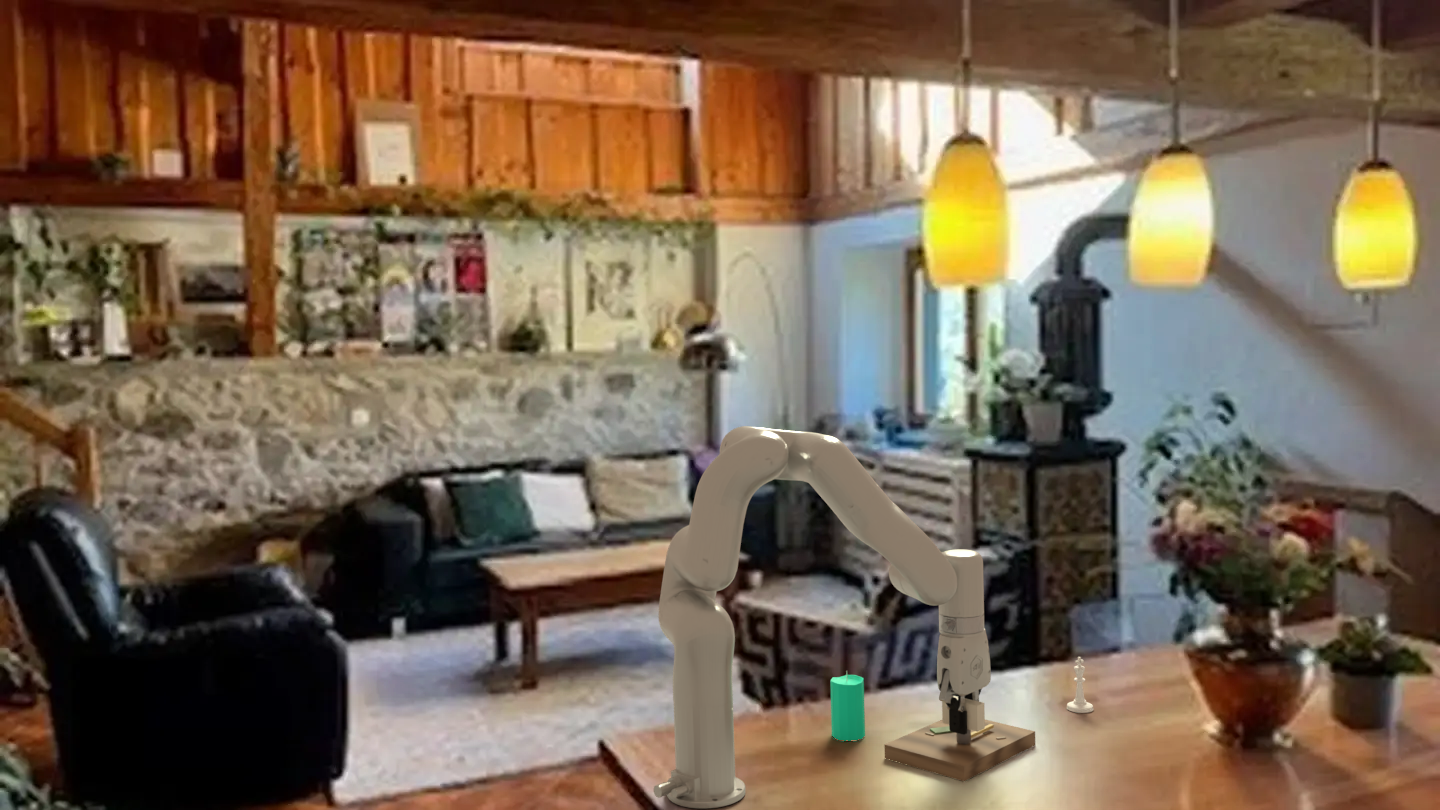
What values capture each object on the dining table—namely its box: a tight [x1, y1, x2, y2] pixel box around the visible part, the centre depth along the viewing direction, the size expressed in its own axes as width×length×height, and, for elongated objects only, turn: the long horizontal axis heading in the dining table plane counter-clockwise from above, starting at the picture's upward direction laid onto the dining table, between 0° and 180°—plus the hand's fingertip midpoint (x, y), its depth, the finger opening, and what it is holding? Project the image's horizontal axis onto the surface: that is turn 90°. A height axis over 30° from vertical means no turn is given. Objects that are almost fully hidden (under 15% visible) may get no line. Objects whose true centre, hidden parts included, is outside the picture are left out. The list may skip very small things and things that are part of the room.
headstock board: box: [883, 719, 1036, 782], centre depth 210 cm, size 22×16×3 cm
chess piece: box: [1066, 656, 1094, 714], centre depth 231 cm, size 5×5×10 cm
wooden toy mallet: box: [941, 696, 994, 744], centre depth 210 cm, size 10×7×7 cm
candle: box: [829, 670, 866, 742], centre depth 220 cm, size 6×6×12 cm
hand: (963, 729), depth 207 cm, fingers closed on wooden toy mallet, 2 cm apart
